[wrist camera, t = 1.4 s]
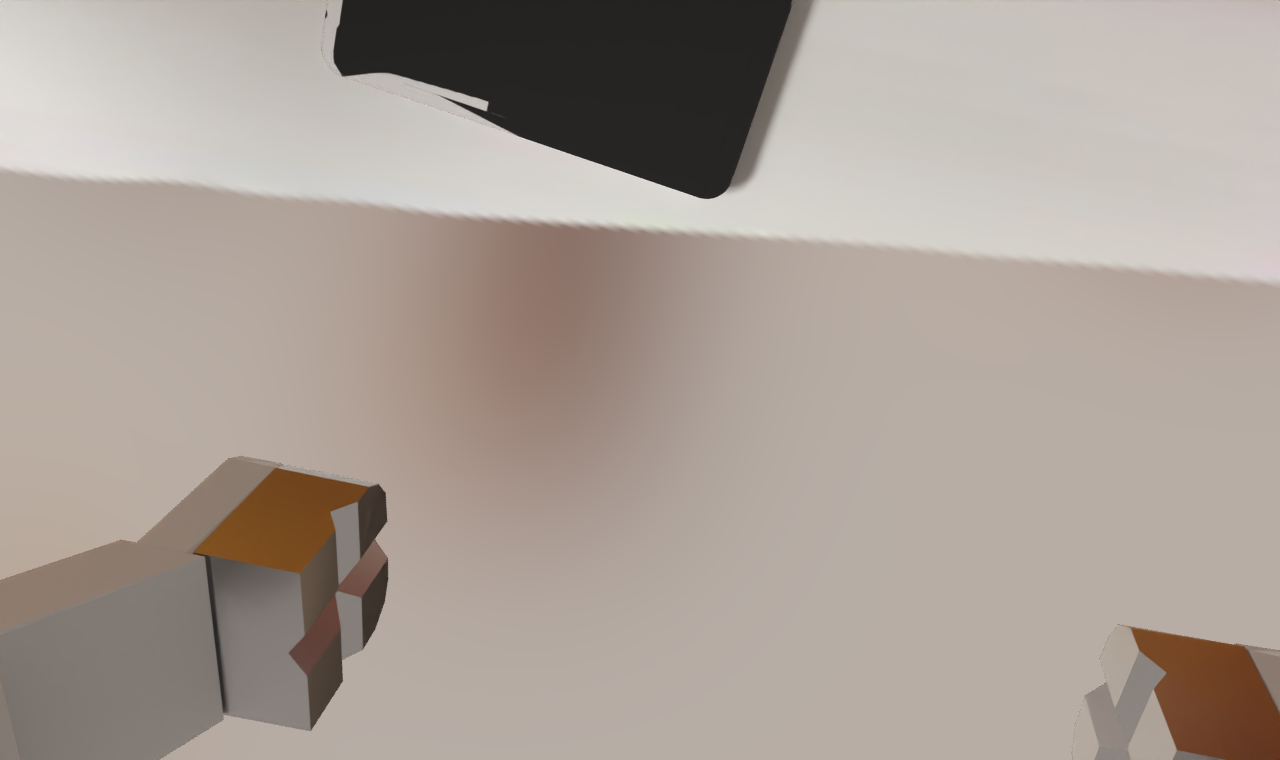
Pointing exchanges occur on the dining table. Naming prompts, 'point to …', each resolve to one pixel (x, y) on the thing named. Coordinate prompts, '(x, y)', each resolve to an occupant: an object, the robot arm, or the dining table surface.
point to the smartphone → (578, 73)
